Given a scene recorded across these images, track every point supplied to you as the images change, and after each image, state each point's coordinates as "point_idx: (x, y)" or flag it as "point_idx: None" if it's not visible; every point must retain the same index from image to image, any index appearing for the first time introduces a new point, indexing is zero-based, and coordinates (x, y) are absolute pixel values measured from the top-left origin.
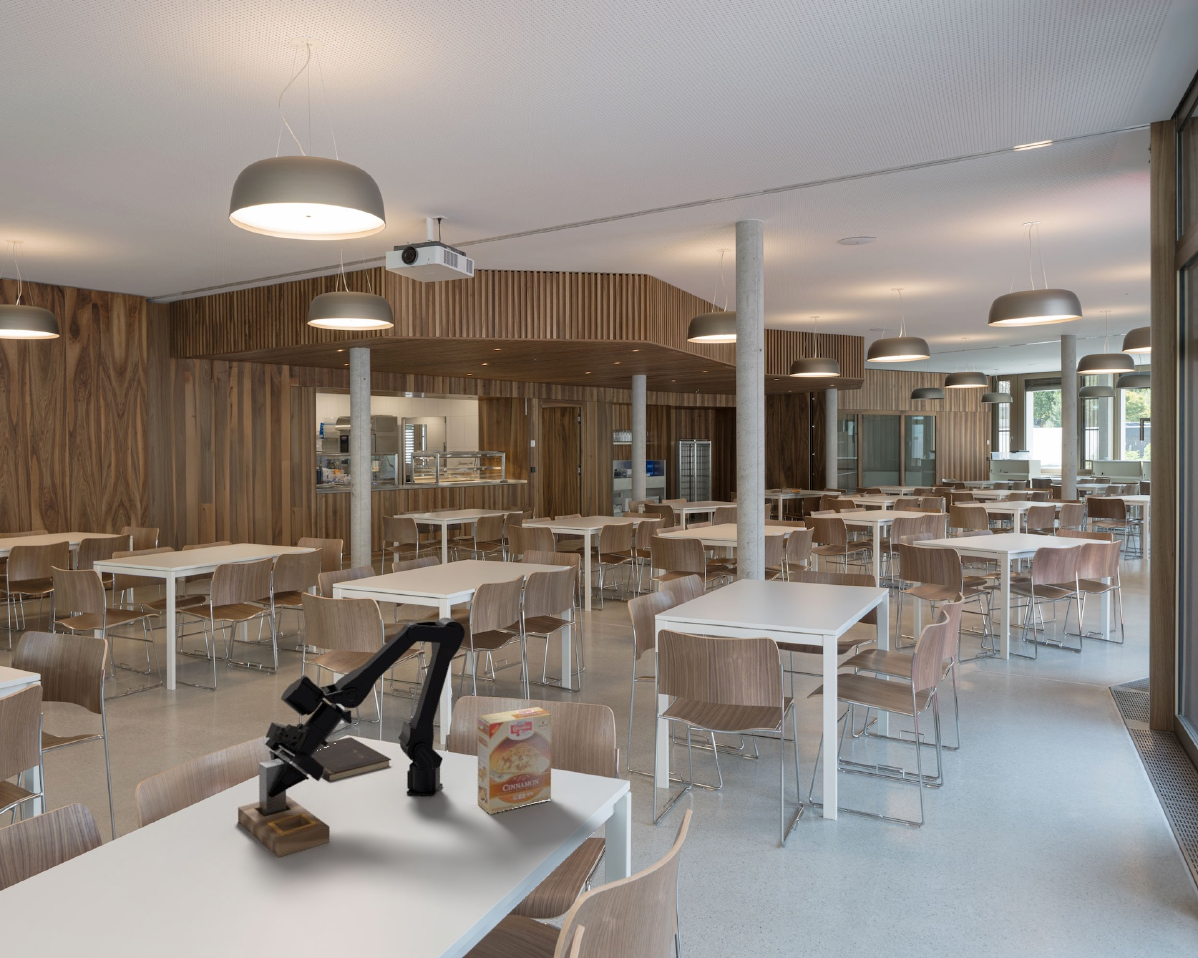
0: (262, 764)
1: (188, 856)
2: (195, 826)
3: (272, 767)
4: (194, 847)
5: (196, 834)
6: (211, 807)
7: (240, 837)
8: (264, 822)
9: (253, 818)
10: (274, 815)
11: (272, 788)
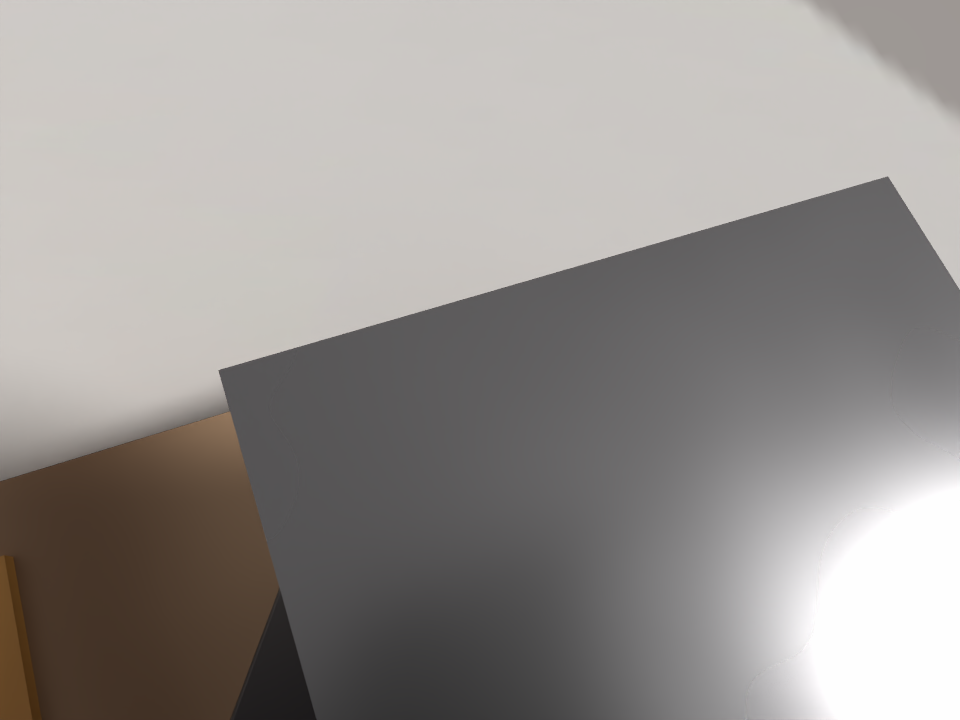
0: (706, 261)
1: (78, 31)
2: (602, 85)
3: (308, 637)
4: (223, 67)
5: (457, 85)
6: (914, 179)
7: (253, 349)
8: (88, 529)
9: None
10: (256, 646)
11: (286, 625)
